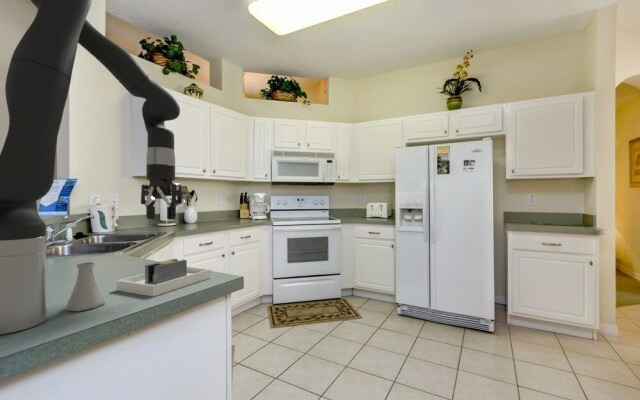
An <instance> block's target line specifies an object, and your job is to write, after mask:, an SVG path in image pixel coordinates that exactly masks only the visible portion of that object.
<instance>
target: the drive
mask: <svg viewBox="0 0 640 400" xmlns="http://www.w3.org/2000/svg"><path fill="white" fill-rule="evenodd" d="M187 263H188V261H187V259H180V260H178V258H172V259H167V260H163V261H159V262H155V263H149V264H146V265H144V274H145V283H152V282H153V274H154V284H155V285H156V284H160V283H163V282H167V281H170V280H173V279H177V278H180V277H184V276H187V267H188V266H187Z"/></svg>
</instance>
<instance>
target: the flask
mask: <svg viewBox="0 0 640 400" xmlns="http://www.w3.org/2000/svg"><path fill="white" fill-rule="evenodd" d="M94 266H95V263H94V261H93V262H90V261H89V262H81V263H77V264H76V267H77V268H78V269H77V270H78V271H77V272H78V273H77V278H76V281H75V283H74V286H73V289H72V292H71V294H70V296H69V299H68V301H67V303H66V305H65V310H66V311H67V312H69V311H70V312H81V311H86V310H91V309H95V308H98V307H100V306H102V305H105V304H106V303H105V300H104V298H103V296H102V293H101V292H100V289H99V287H98V285H97V283H96V282H97V281H95V275H94V269H93V267H94Z"/></svg>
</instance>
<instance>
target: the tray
mask: <svg viewBox="0 0 640 400" xmlns="http://www.w3.org/2000/svg"><path fill="white" fill-rule="evenodd" d="M208 278H209V279H211V268H201V267H193V266H192V267H191V266H187V276H184V277H180V278H177V279H173V280H170V281H167V282H163V283H160V284H156V285H155V284H154V274H153V282H152V283H145V273H141V274H138V275H134V276H129V277H125V278H120V279H117V280H115V281H116V283H115V285H116V291H118V292H124V293H125V292H126V293H131V294H137V295H141V296H147V297H156V296H159V295H163V294H165V293H168V292H172V291H174V290H179V289H181V288H184V287H187V286H190V285H192V284H193V285H194V284H196V283H200V282H202V281H206V280H208Z"/></svg>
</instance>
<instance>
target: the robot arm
mask: <svg viewBox="0 0 640 400" xmlns="http://www.w3.org/2000/svg"><path fill="white" fill-rule="evenodd" d="M92 1H93V0H30V2H31V3H32V4H33V5H34V6H35V7H36V8H37V12H36V14H35V17H34V19H33V21H32V22H31V23H30V26H29V27H28V28H27V29H26V31H25V33H24V34H23V35H22V37H21V38H20V40H19V42H18V44H17V45H16V46H15V49H14V50H13V53H12V55H11V60H10V62H9V66H8V69H7V74H6V78H5V85H4V86H5V87H4V89H5V91H4V93H5V94H4V95H5V100H6V106H7V111H8V118H9V119H8V120H9V121H8V122H9V123H8V130H7V135H6V137H5V139H4V143H3V146H2V148H1V152H0V335H6V334H11V333H15V332H19V331H24V330H27V329H30V328H32V327H35V326H38V325H40V324H43V323H44V322H45V321H47V311H48V309H47V225H46V223H45V221H44V220H42V218H41V217H40V215H39V212H38V203H37V201H39V200H41V199H43V198H44V197H45V196H47V194H48V193H49V192H50V190H51V189H52V187H53V184H54V179H55V169H56V154H57V144H58V142H57V141H58V136H59V131H60V128H61V124H62V120H63V115H64V111H65V106H66V103H67V99H68V95H69V90H70V85H71V82H72V76H73V69H74V65H75V60H76V55H77V50H78V44H79V45H80V46H81V47H82V48H84V50H86V51H87V52H88V53H89V54H90V55H91V56H93V57H94V58H95V59H96V60H97V62H98V61H99V63H101V65H102V66H103V67H104V68H106V69H107V71H109V72H110V74H111V75H113V77H114V78H115V79H116V80H117V81H118V82H119V83H120V85H122V86H123V88H125V89H126V91H127V92H128V93H130V95H132V97H137V98H141V99H144V102H143V103H142V107H141V114H142V119H143V122H144V127H145V130H146V133H147V152H146V161H145V162H146V165H145V166H146V167H145V168H146V171H145V172H146V174H145V175H146V177H145V178H146V180H147V181H149V184H142V185H141V188H140V189H141V191H140V192H141V193H140V203H141V205H144V206H145V207H146V209H145V210H146V215H145V216H146V219H147V220H155V218H156V205H157V204H156V203H157V202H159V201H160V200H161V199H162V201H164V202H165V203H166V205H167V206H166V219H167V220H168V221H169V220H170V221H171V220H172V221H173V220H176V215H177V213H176V212H177V209H176V208H177V207H178V205H182V203H183V197H182V196H183V194H182V184H181V183H176V182H175V183H173V182H174V181H175V180H176V155H175V134H174V132H173V130H170V129H169V128H166V125H165V122H167V121H168V122H169V121H173V120H176V119H177V118H178V117H179V116H180V113H181V107H180V104H179V102H178V100H177V99H176V98H175V97H174V96H173V94H171V92H169V91H168V90H166V89H165V88H164V87H163V86H162V85H160V84H159V83H158V82H156V81H155V80H154V79H152V77H151V76H150V75H149V74H148V72H147V71H146V70H145V69H144V67H142V66H141V64H140V63H139V62H138V61H137V60H136V58H135V57H133V56H132V55H131V54H130V53H129V52H128V51H127V50H125V49H124V48H122V47H121V46H120V45H118V44H117V43H115V42H113V41H112V40H110V39H109V38H107V37H106V36H105V35H103V34H102V33H101V32H100V31H98V30H97V29H96V28H95V27H94V26H93V24H91V23H90V22H89V21H88V19H87V17H88V14H89V11H90V9H91V7H92Z"/></svg>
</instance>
